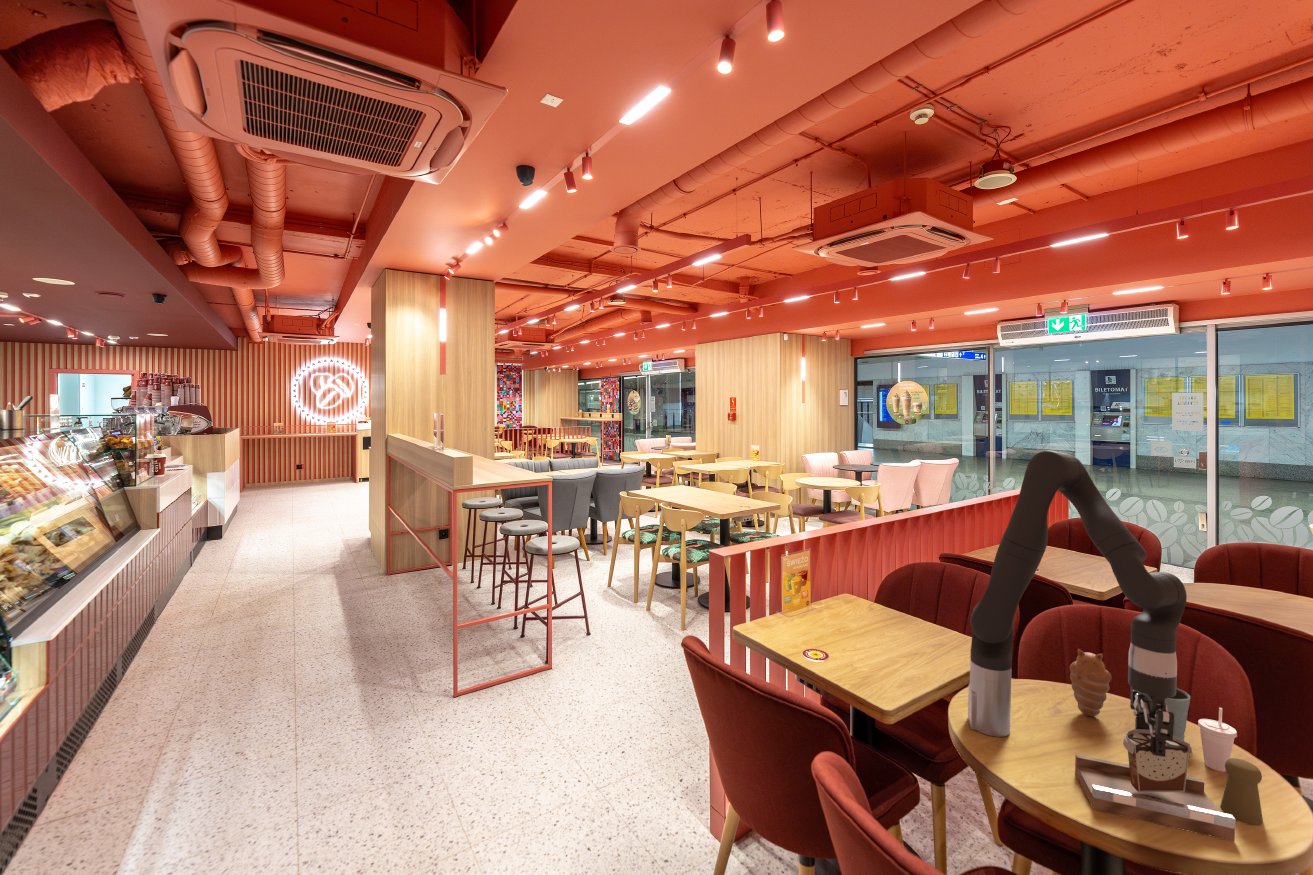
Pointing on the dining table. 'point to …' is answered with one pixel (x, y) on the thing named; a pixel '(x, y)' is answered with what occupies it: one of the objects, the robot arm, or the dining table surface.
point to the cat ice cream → (1089, 682)
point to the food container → (1156, 763)
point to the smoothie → (1216, 742)
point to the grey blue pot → (1178, 712)
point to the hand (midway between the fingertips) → (1149, 744)
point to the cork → (1242, 792)
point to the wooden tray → (1151, 799)
